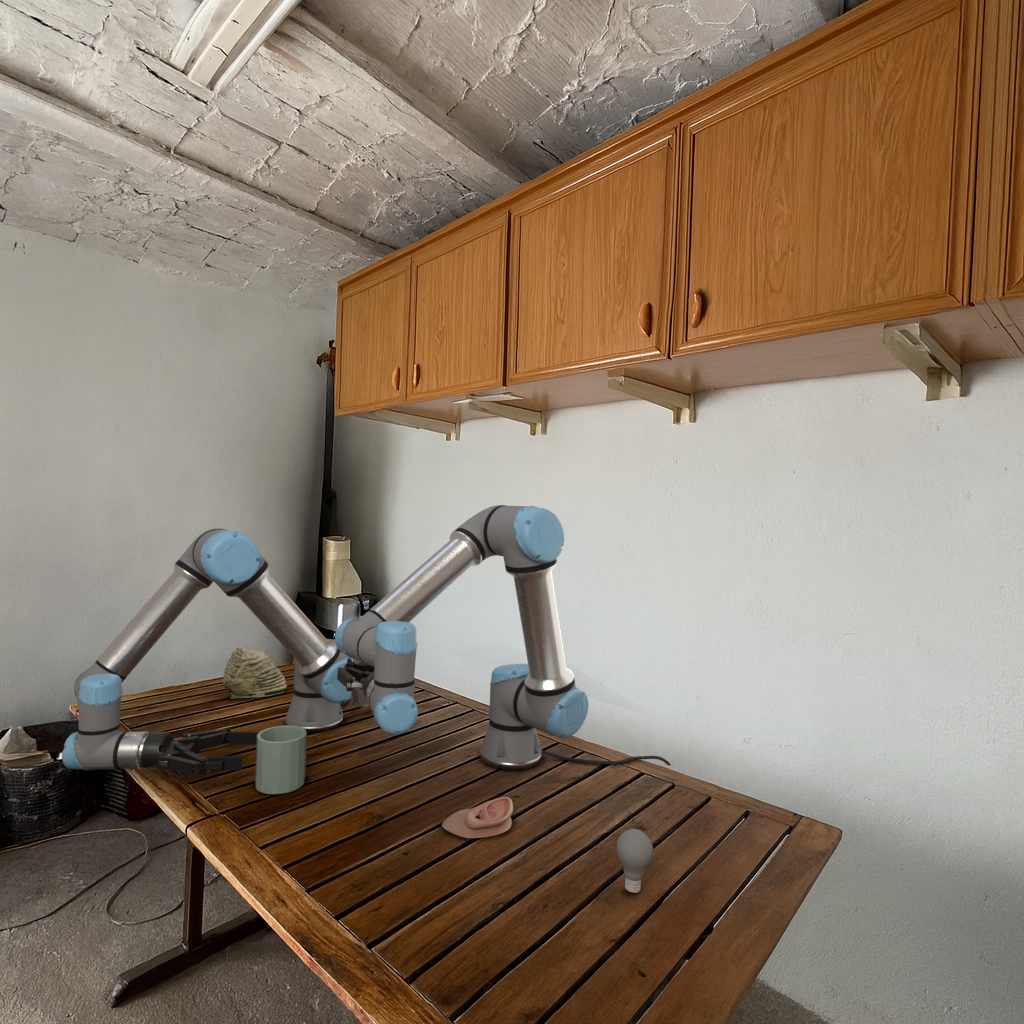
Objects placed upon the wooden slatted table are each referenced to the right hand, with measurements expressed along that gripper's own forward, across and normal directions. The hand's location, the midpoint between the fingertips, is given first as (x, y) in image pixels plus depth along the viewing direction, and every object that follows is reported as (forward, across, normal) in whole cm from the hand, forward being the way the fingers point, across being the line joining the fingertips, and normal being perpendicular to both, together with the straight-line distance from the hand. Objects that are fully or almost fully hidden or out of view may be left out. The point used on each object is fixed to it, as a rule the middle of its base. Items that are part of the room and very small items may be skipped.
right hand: (368, 663), depth 149 cm
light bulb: (-60, +36, -24) cm, 74 cm away
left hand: (-2, -25, -17) cm, 30 cm away
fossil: (+62, -25, -25) cm, 71 cm away
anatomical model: (-33, +18, -25) cm, 45 cm away
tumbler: (-4, 0, -8) cm, 9 cm away
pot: (-4, -18, -25) cm, 31 cm away
